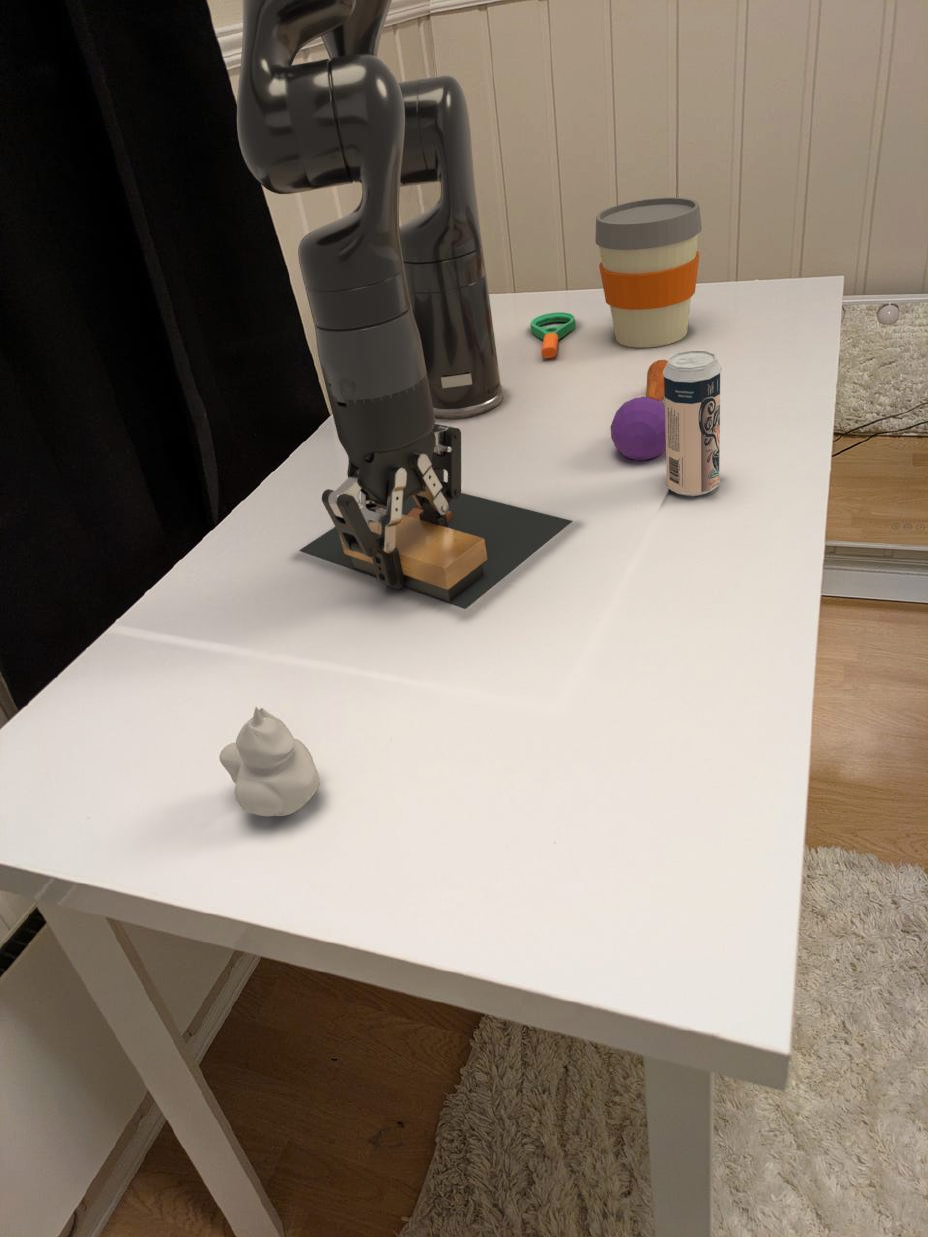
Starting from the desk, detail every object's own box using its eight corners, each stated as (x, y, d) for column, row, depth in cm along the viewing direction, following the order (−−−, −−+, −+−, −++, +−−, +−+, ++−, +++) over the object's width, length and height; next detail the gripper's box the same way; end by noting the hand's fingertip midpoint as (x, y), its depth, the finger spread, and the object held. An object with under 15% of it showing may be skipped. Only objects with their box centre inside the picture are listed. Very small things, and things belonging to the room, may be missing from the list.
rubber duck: (300, 841, 55) (263, 744, 50) (213, 819, 57) (170, 725, 53) (344, 778, 59) (313, 683, 54) (260, 759, 61) (224, 667, 57)
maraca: (694, 351, 99) (676, 415, 83) (684, 404, 102) (664, 475, 86) (639, 343, 100) (611, 404, 84) (631, 396, 103) (602, 464, 87)
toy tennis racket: (532, 323, 127) (531, 311, 126) (576, 318, 126) (575, 306, 125) (525, 362, 115) (524, 349, 114) (573, 357, 114) (572, 344, 113)
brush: (348, 568, 79) (338, 533, 77) (387, 541, 82) (379, 507, 80) (451, 605, 72) (444, 568, 70) (490, 574, 75) (484, 538, 73)
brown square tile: (394, 534, 83) (393, 529, 82) (414, 513, 85) (413, 507, 85) (433, 538, 81) (432, 533, 81) (452, 516, 84) (451, 511, 83)
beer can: (720, 498, 80) (722, 367, 73) (665, 500, 81) (661, 371, 75) (719, 473, 84) (720, 346, 77) (666, 475, 85) (663, 350, 78)
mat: (300, 555, 83) (298, 550, 83) (408, 484, 92) (407, 478, 92) (466, 614, 72) (465, 608, 71) (573, 526, 80) (572, 520, 80)
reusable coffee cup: (680, 355, 109) (677, 223, 101) (585, 350, 116) (575, 225, 107) (716, 319, 117) (717, 194, 109) (625, 316, 124) (619, 198, 115)
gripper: (404, 336, 73) (439, 520, 83) (269, 405, 65) (325, 600, 75) (475, 346, 69) (503, 539, 79) (340, 421, 61) (390, 626, 70)
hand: (416, 567), depth 77 cm, fingers closed on brush, 5 cm apart
